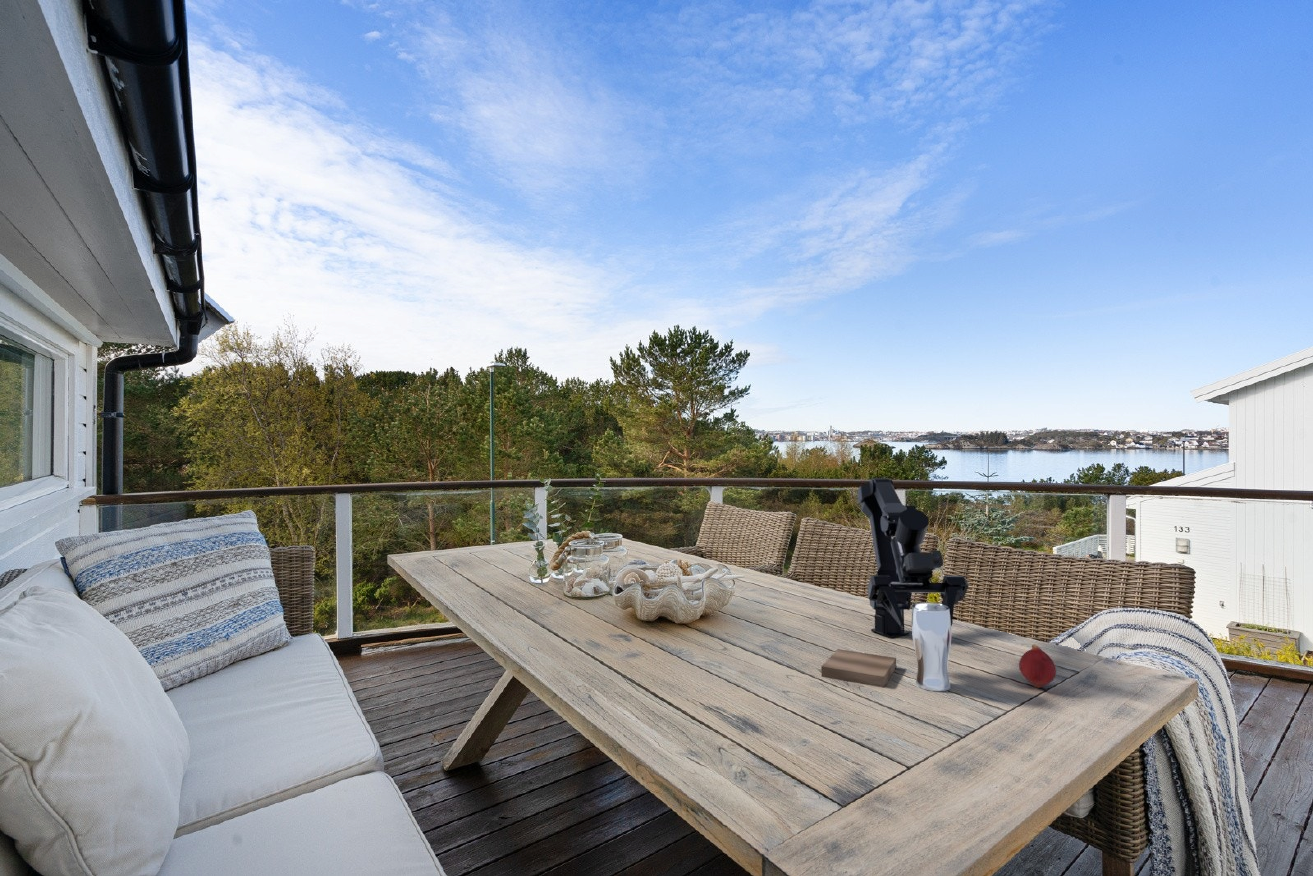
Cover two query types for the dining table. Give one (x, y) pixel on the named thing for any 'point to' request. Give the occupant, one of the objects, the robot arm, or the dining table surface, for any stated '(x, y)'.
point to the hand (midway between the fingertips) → (926, 625)
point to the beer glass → (931, 645)
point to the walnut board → (859, 667)
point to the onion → (1037, 667)
